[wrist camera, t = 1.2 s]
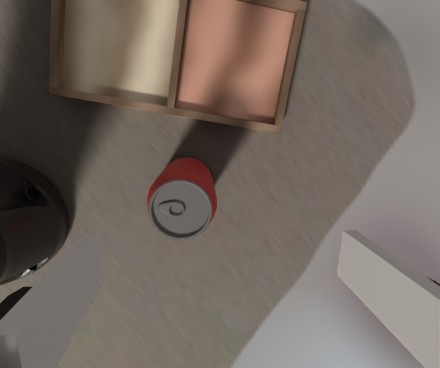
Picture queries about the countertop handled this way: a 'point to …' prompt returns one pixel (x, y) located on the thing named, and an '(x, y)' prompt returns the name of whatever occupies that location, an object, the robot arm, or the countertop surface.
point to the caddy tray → (179, 56)
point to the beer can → (182, 199)
